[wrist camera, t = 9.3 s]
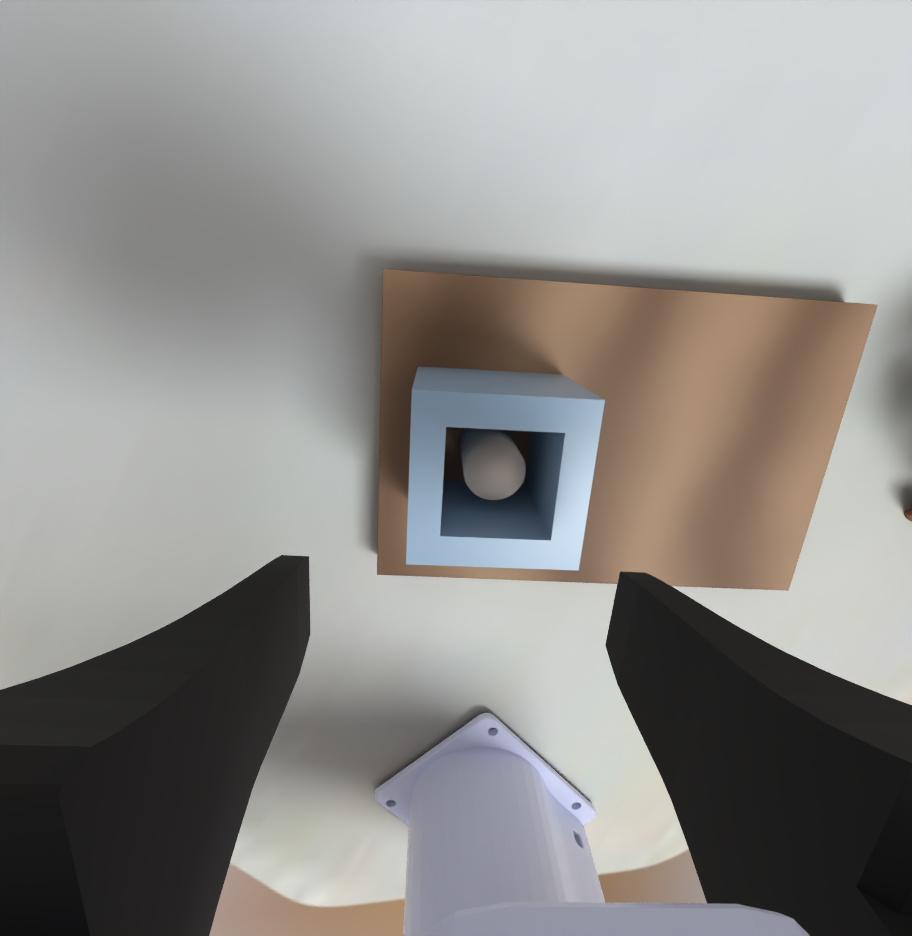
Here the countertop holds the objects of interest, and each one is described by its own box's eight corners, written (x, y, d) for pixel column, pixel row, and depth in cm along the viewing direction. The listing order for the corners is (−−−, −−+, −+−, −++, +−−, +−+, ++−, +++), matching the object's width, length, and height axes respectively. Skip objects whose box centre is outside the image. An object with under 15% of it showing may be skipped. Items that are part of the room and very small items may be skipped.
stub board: (846, 304, 20) (973, 306, 15) (767, 572, 24) (849, 641, 19) (386, 271, 19) (370, 262, 14) (380, 557, 23) (366, 625, 18)
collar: (562, 374, 19) (605, 400, 14) (545, 508, 21) (578, 570, 16) (417, 366, 19) (411, 389, 14) (412, 502, 20) (406, 564, 16)
